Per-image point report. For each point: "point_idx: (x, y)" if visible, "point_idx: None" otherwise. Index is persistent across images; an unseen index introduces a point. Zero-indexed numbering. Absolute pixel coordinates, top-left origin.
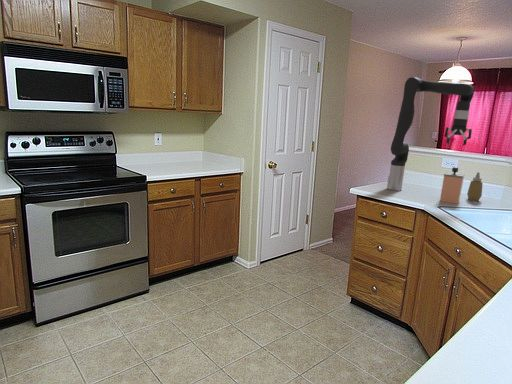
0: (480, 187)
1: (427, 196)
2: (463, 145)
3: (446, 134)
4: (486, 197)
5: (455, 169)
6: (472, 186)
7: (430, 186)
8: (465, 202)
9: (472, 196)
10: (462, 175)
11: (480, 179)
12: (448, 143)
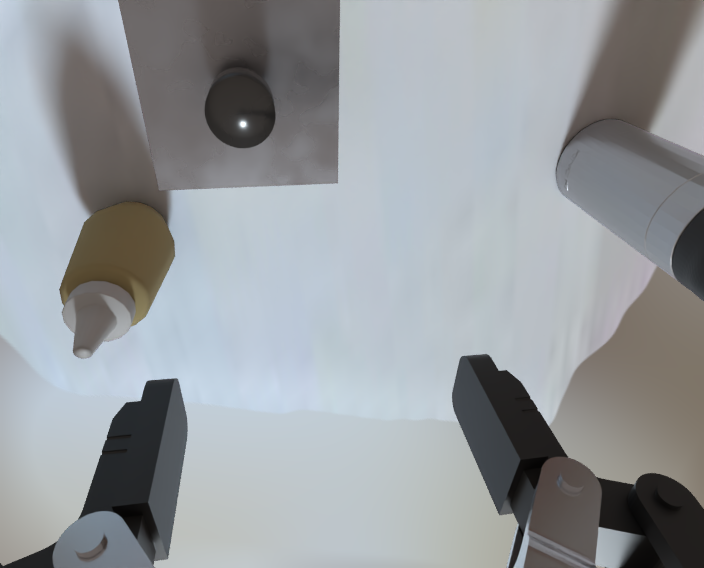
0: (71, 257)
1: (399, 97)
2: (163, 380)
3: (680, 541)
4: (108, 363)
5: (231, 74)
6: (128, 245)
7: (404, 401)
8: None
9: (129, 205)
10: (145, 61)
11: (66, 301)
12: (474, 361)
